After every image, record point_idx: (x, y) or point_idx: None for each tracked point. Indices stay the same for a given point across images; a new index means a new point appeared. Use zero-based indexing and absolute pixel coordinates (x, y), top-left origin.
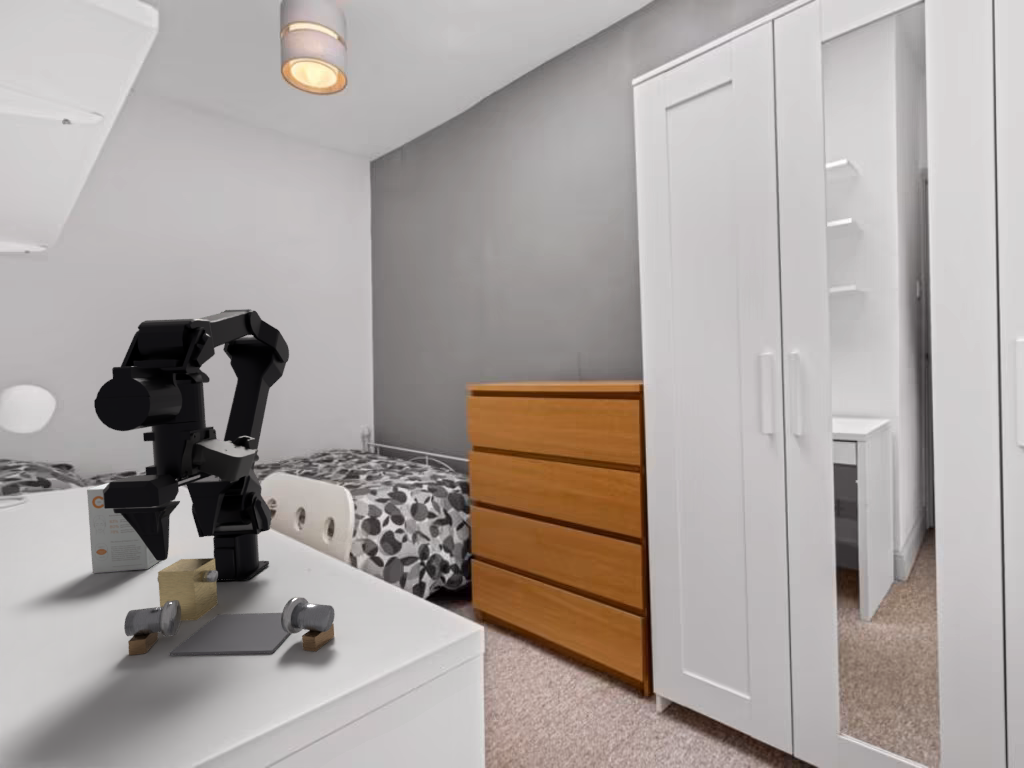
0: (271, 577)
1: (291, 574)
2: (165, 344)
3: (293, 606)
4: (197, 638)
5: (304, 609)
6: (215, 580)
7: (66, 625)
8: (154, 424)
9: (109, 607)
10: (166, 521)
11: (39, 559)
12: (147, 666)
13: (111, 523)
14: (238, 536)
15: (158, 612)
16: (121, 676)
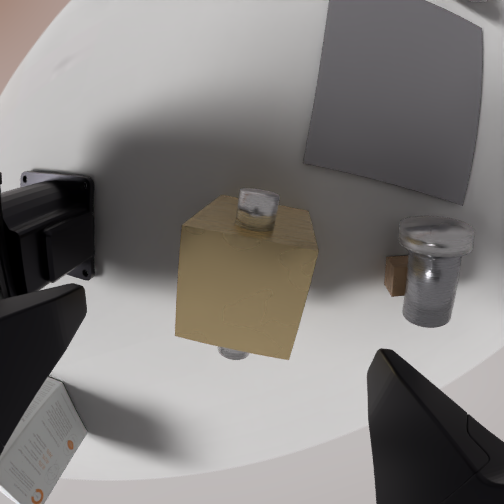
0: (84, 129)
1: (77, 89)
2: None
3: None
4: (422, 169)
5: None
6: (258, 189)
7: (264, 420)
8: None
9: (201, 395)
10: (488, 455)
11: (69, 465)
12: (480, 228)
13: (44, 464)
14: (11, 229)
15: (459, 260)
16: (492, 256)
